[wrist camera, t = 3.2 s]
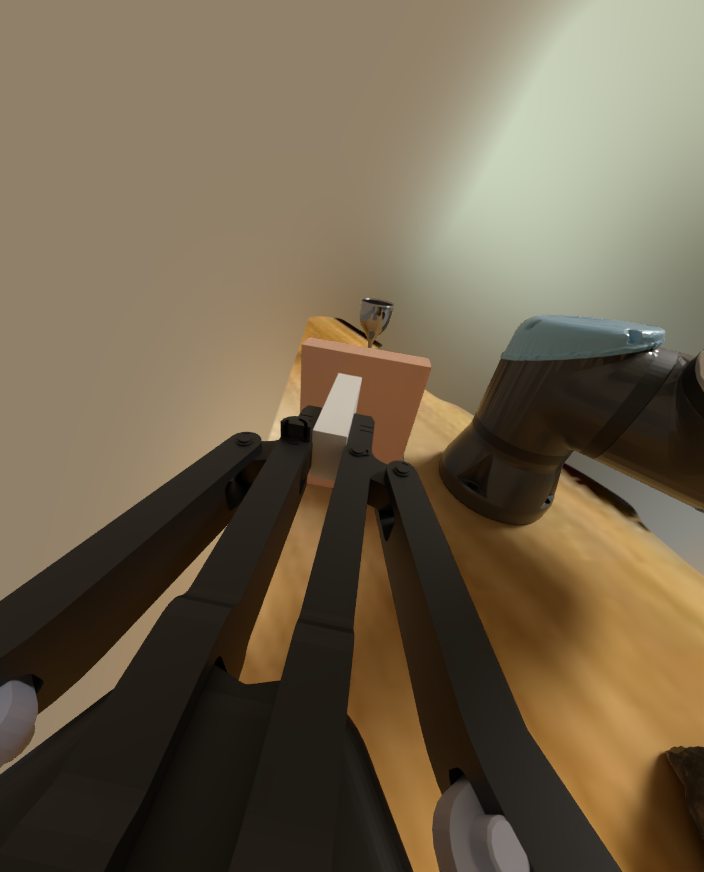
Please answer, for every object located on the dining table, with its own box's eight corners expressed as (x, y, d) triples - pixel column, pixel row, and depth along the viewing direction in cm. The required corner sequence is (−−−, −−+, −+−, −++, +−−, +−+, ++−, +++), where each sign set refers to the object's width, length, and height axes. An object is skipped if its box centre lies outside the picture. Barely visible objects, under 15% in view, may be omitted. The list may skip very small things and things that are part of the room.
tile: (389, 485, 37) (428, 358, 27) (389, 499, 35) (431, 367, 24) (303, 468, 37) (309, 336, 27) (298, 481, 35) (301, 344, 25)
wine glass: (377, 370, 70) (390, 307, 61) (348, 363, 71) (356, 300, 62) (384, 361, 76) (396, 302, 67) (357, 354, 77) (366, 296, 69)
